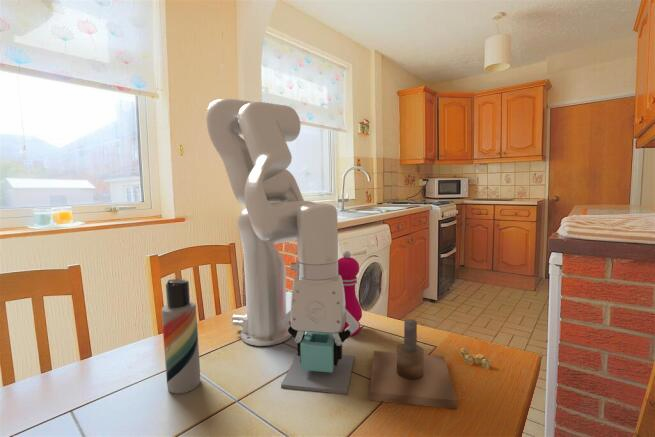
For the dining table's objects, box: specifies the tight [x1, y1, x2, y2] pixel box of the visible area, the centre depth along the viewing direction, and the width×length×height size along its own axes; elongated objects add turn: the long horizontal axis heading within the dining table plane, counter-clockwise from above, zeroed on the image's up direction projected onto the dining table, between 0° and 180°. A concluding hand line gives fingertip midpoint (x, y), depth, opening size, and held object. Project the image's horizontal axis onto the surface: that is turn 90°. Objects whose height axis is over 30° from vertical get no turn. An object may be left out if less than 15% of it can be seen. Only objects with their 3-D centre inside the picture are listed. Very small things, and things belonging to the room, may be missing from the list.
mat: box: [280, 352, 355, 395], centre depth 66 cm, size 12×12×1 cm
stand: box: [369, 318, 458, 410], centre depth 63 cm, size 14×14×11 cm
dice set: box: [460, 347, 492, 370], centre depth 69 cm, size 5×5×2 cm
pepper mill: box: [338, 250, 363, 337], centre depth 83 cm, size 7×7×20 cm
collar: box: [300, 332, 335, 373], centre depth 66 cm, size 6×6×5 cm
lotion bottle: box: [161, 278, 201, 395], centre depth 62 cm, size 6×6×20 cm
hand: (319, 359), depth 66 cm, fingers closed on collar, 5 cm apart
